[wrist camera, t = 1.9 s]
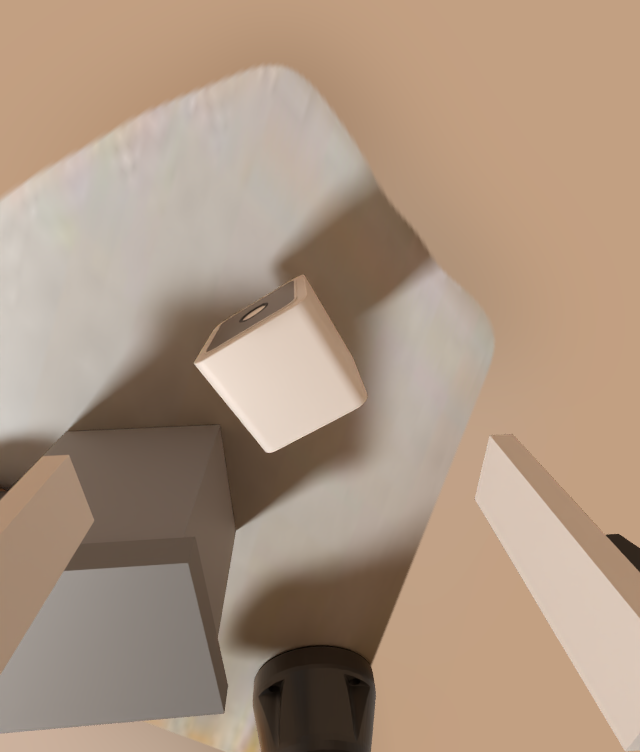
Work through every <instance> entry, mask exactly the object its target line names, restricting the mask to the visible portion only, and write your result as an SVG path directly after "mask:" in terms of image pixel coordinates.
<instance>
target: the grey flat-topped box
mask: <svg viewBox="0 0 640 752" xmlns="http://www.w3.org/2000/svg"><path fill="white" fill-rule="evenodd" d="M56 455H69V456H70V459H71V461H72V464H73V466H74V469H75V472H76V474H77V477H78V479H79V482H80V485H81V487H82V490H83V492H84V495H85V498H86V500H87V503H88V505H89V508H90V510H91V513H92V516H93V518H94V522H93V524H92V525H91V527H90V529H89V530H88V532H87V534H86V535H85V537H84V539H83V540H82V542H81V543H80V545H79V547H78V548H77V550H76V552H75V553H74V555H73V557H72V558H71V560H70V561H69V563H68V565H67V566H66V568H65V570H64V571H63V573H62V575H61V576H60V578H59V580H58V581H57V583H56V584H55V586H54V588H53V589H52V591H51V593H50V594H49V596H48V598H47V599H46V601H45V602H44V604H43V606H42V607H41V609H40V611H39V612H38V614H37V616H36V617H35V619H34V620H33V622H32V624H31V625H30V627H29V629H28V630H27V632H26V634H25V635H24V637H23V639H22V640H21V642H20V643H19V645H18V647H17V648H16V650H15V652H14V653H13V655H12V657H11V658H10V660H9V661H8V663H7V665H6V666H5V668H4V670H3V671H2V673H1V675H0V733H10V732H22V731H33V730H45V729H55V728H67V727H78V726H89V725H101V724H112V723H123V722H134V721H145V720H156V719H168V718H179V717H190V716H201V715H212V714H223V713H224V711H225V704H226V696H227V688H228V684H227V679H226V674H225V670H224V665H223V661H222V656H221V651H220V647H219V642H218V633H219V627H220V621H221V615H222V609H223V604H224V598H225V592H226V586H227V580H228V574H229V568H230V562H231V556H232V551H233V545H234V539H235V533H236V529H235V522H234V516H233V509H232V502H231V496H230V489H229V482H228V476H227V469H226V462H225V456H224V449H223V442H222V436H221V429H220V425H199V426H177V427H155V428H132V429H110V430H88V431H66V432H65V433H64V434H63V435H62V436H61V437H60V439H59V440H58V441H57V442H56V443H55V444H54V445H53V446H52V447H51V448H50V449H49V450H48V451H47V452H46V453H45V454H44V455H43V456H56ZM40 459H41V458H40ZM40 459H39V460H40ZM39 460H38V461H39ZM38 461H37V462H38ZM37 462H36V463H37ZM36 463H35V464H36ZM35 464H34V465H35ZM34 465H33V466H34ZM33 466H32V467H33ZM32 467H31V468H32ZM31 468H30V469H31ZM30 469H29V470H30ZM29 470H28V471H29ZM28 471H27V472H28ZM27 472H26V473H27ZM26 473H25V474H26ZM25 474H24V475H25ZM24 475H23V476H24ZM23 476H22V477H23ZM22 477H21V478H22ZM17 483H18V482H17ZM17 483H16V484H17ZM16 484H15V485H16ZM15 485H14V486H15ZM14 486H13V487H14ZM13 487H12V488H13ZM12 488H11V489H12ZM11 489H10V490H11ZM10 490H9V491H10ZM9 491H8V492H9ZM8 492H7V493H8ZM7 493H6V494H7ZM6 494H5V495H6ZM5 495H4V496H5ZM4 496H3V497H4ZM3 497H2V498H3ZM2 498H1V499H2ZM1 499H0V500H1Z"/></svg>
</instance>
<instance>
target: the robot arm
mask: <svg viewBox="0 0 640 752" xmlns="http://www.w3.org/2000/svg"><path fill="white" fill-rule="evenodd" d="M475 501H476V502H477V504H478V506H479V507H480V509H481V511H482V512H483V514H484V516H485V517H486V519H487V521H488V522H489V524H490V525H491V527H492V529H493V531H494V532H495V534H496V536H497V537H498V539H499V541H500V542H501V544H502V546H503V547H504V549H505V551H506V552H507V554H508V556H509V557H510V559H511V561H512V563H513V564H514V566H515V568H516V569H517V571H518V573H519V574H520V576H521V578H522V579H523V581H524V583H525V584H526V586H527V588H528V589H529V591H530V593H531V594H532V596H533V598H534V599H535V601H536V603H537V604H538V606H539V608H540V609H541V611H542V613H543V614H544V616H545V618H546V619H547V621H548V623H549V625H550V626H551V628H552V630H553V631H554V633H555V635H556V636H557V638H558V639H559V641H560V643H561V645H562V646H563V648H564V650H565V651H566V653H567V655H568V656H569V658H570V660H571V661H572V663H573V664H574V666H575V668H576V670H577V671H578V673H579V675H580V676H581V678H582V680H583V681H584V683H585V685H586V686H587V688H588V690H589V691H590V693H591V695H592V696H593V698H594V700H595V702H596V703H597V705H598V707H599V708H600V710H601V712H602V713H603V715H604V717H605V718H606V720H607V722H608V723H609V725H610V727H611V728H612V730H613V732H614V733H615V735H616V737H617V738H618V740H619V742H620V743H621V745H622V747H623V748H624V750H625V751H635V750H640V548H639V547H637V546H636V545H634V544H633V543H631V542H630V541H628V540H627V539H625V538H624V537H622V536H621V535H619V534H610V535H605V534H604V533H603V532H602V531H601V530H600V529H599V528H598V526H597V525H596V524H595V523H594V522H593V521H592V520H591V519H590V518H589V517H588V515H587V514H586V513H585V512H584V511H583V510H582V509H581V508H580V507H579V506H578V505H577V504H576V502H575V501H573V499H572V498H571V497H570V496H569V495H568V494H567V493H566V492H565V490H564V489H563V488H562V487H561V486H560V485H559V484H558V483H557V482H556V481H555V480H554V479H553V477H552V476H551V475H550V474H549V473H548V472H547V471H546V470H545V469H544V468H543V467H542V465H540V463H539V462H538V461H537V460H536V459H535V458H534V457H533V456H532V455H531V453H530V452H529V451H528V450H527V449H526V448H525V447H524V446H523V445H522V444H521V443H520V441H518V439H517V438H516V437H515V436H514V435H513V434H504V435H490V436H489V441H488V445H487V449H486V454H485V458H484V462H483V466H482V471H481V474H480V479H479V483H478V487H477V491H476V496H475ZM93 522H94V518H93V516H92V513H91V510H90V508H89V505H88V503H87V500H86V498H85V495H84V492H83V490H82V487H81V485H80V482H79V479H78V477H77V474H76V472H75V469H74V466H73V464H72V461H71V459H70V456H69V455H56V456H42V457H41V459H40V460H39V461H38V462H37V463H36V464H35V465H34V466H33V467H32V468H31V469H30V470H29V471H28V472H27V473H26V474H25V475H24V476H23V477H22V478H21V479H20V480H19V481H18V483H17V484H16V485H15V486H14V487H13V488H12V489H11V490H10V491H9V492H8V493H7V494H6V495H5V496H4V497H3V498H2V499H1V500H0V675H1V673H2V671H3V670H4V668H5V666H6V665H7V663H8V661H9V660H10V658H11V657H12V655H13V653H14V652H15V650H16V648H17V647H18V645H19V643H20V642H21V640H22V639H23V637H24V635H25V634H26V632H27V630H28V629H29V627H30V625H31V624H32V622H33V620H34V619H35V617H36V616H37V614H38V612H39V611H40V609H41V607H42V606H43V604H44V602H45V601H46V599H47V598H48V596H49V594H50V593H51V591H52V589H53V588H54V586H55V584H56V583H57V581H58V580H59V578H60V576H61V575H62V573H63V571H64V570H65V568H66V566H67V565H68V563H69V561H70V560H71V558H72V557H73V555H74V553H75V552H76V550H77V548H78V547H79V545H80V543H81V542H82V540H83V539H84V537H85V535H86V534H87V532H88V530H89V529H90V527H91V525H92V524H93ZM375 699H376V691H375V684H374V678H373V672H372V668H371V666H370V665H369V663H368V662H367V661H366V660H365V659H364V658H363V657H361V656H360V655H358V654H356V653H354V652H351V651H349V650H345V649H341V648H335V647H307V648H301V649H297V650H293V651H289V652H286V653H284V654H281V655H279V656H277V657H275V658H273V659H272V660H270V661H269V662H267V663H266V664H265V665H264V666H263V667H262V668H261V669H260V670H259V671H258V673H257V675H256V677H255V680H254V691H253V710H254V715H255V721H256V726H257V732H258V737H259V742H260V748H261V752H371V744H372V733H373V721H374V709H375Z"/></svg>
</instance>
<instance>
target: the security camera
mask: <svg viewBox="0 0 640 752" xmlns="http://www.w3.org/2000/svg"><path fill="white" fill-rule="evenodd" d="M194 364H195V366H196V367H197V368H198V369H199V371H200V372H201V373H202V374H203V376H204V377H205V378H206V379H207V380H208V382H209V383H210V384H211V385H212V387H213V388H214V389H215V390H216V391H217V393H218V394H219V395H220V396H221V398H222V399H223V400H224V401H225V403H226V404H227V405H228V406H229V407H230V409H231V410H232V411H233V412H234V414H235V415H236V416H237V417H238V419H239V420H240V421H241V422H242V423H243V425H244V426H245V427H246V428H247V430H248V431H249V432H250V433H251V435H252V436H253V437H254V438H255V439H256V441H257V442H258V443H259V444H260V446H261V447H262V448H263V449H264V451H265V452H267V453H272V452H275V451H277V450H279V449H281V448H283V447H285V446H287V445H289V444H290V443H292V442H294V441H296V440H298V439H300V438H302V437H304V436H306V435H308V434H310V433H311V432H313V431H315V430H317V429H319V428H321V427H323V426H325V425H327V424H329V423H331V422H332V421H334V420H336V419H338V418H340V417H342V416H344V415H346V414H348V413H350V412H352V411H354V410H355V409H357V408H359V407H360V406H361V405H363V404H364V402H365V401H366V399H367V392H366V390H365V387H364V385H363V382H362V380H361V377H360V374H359V372H358V369H357V367H356V364H355V361H354V359H353V357H352V355H351V354H350V352H349V350H348V348H347V347H346V345H345V343H344V342H343V340H342V338H341V336H340V335H339V333H338V331H337V330H336V328H335V326H334V324H333V323H332V321H331V319H330V318H329V316H328V314H327V313H326V311H325V309H324V307H323V306H322V304H321V302H320V301H319V299H318V297H317V295H316V294H315V292H314V290H313V289H312V287H311V285H310V283H309V282H308V280H307V278H306V277H305V275H300V276H298V277H296V278H294V279H292V280H291V281H289V282H287V283H286V284H284V285H282V286H281V287H279V288H277V289H276V290H274V291H272V292H271V293H269V294H268V295H266V296H264V297H263V298H261V299H259V300H258V301H256V302H254V303H253V304H251V305H249V306H248V307H246V308H244V309H243V310H241V311H239V312H238V313H236V314H235V315H233V316H231V317H230V318H228V319H226V320H225V321H223V322H222V323H220V324H219V325H218V326H217V327H216V328H215V329H214V330H213V332H212V333H211V335H210V336H209V338H208V340H207V341H206V343H205V345H204V346H203V348H202V350H201V351H200V353H199V355H198V356H197V358H196V360H195V361H194Z"/></svg>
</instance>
